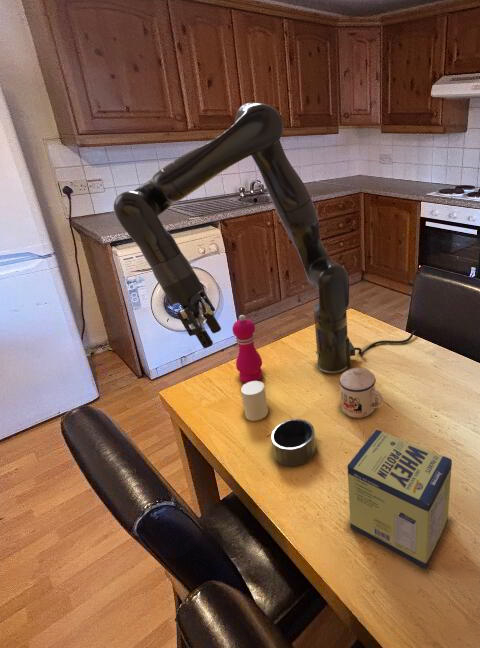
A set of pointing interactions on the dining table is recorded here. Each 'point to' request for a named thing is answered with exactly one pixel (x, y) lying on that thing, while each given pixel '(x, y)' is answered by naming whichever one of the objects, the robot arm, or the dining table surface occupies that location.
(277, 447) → the dark round open container
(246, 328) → the pepper mill
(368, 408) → the teacup with lid
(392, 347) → the dining table surface
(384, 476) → the protein box
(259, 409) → the plain white cylinder
